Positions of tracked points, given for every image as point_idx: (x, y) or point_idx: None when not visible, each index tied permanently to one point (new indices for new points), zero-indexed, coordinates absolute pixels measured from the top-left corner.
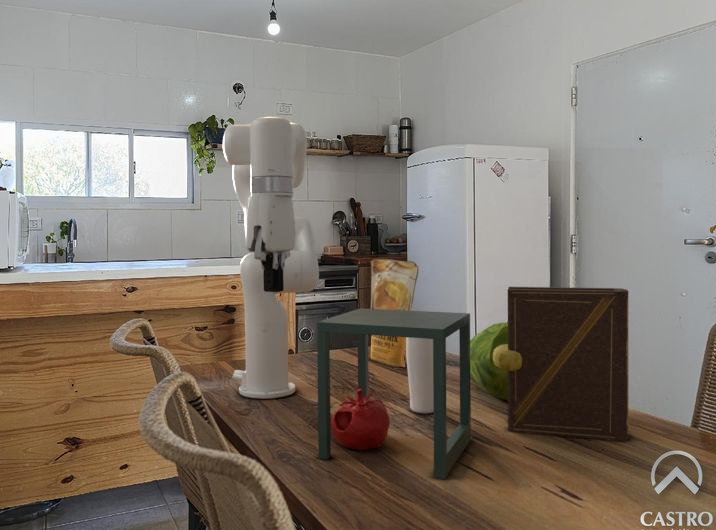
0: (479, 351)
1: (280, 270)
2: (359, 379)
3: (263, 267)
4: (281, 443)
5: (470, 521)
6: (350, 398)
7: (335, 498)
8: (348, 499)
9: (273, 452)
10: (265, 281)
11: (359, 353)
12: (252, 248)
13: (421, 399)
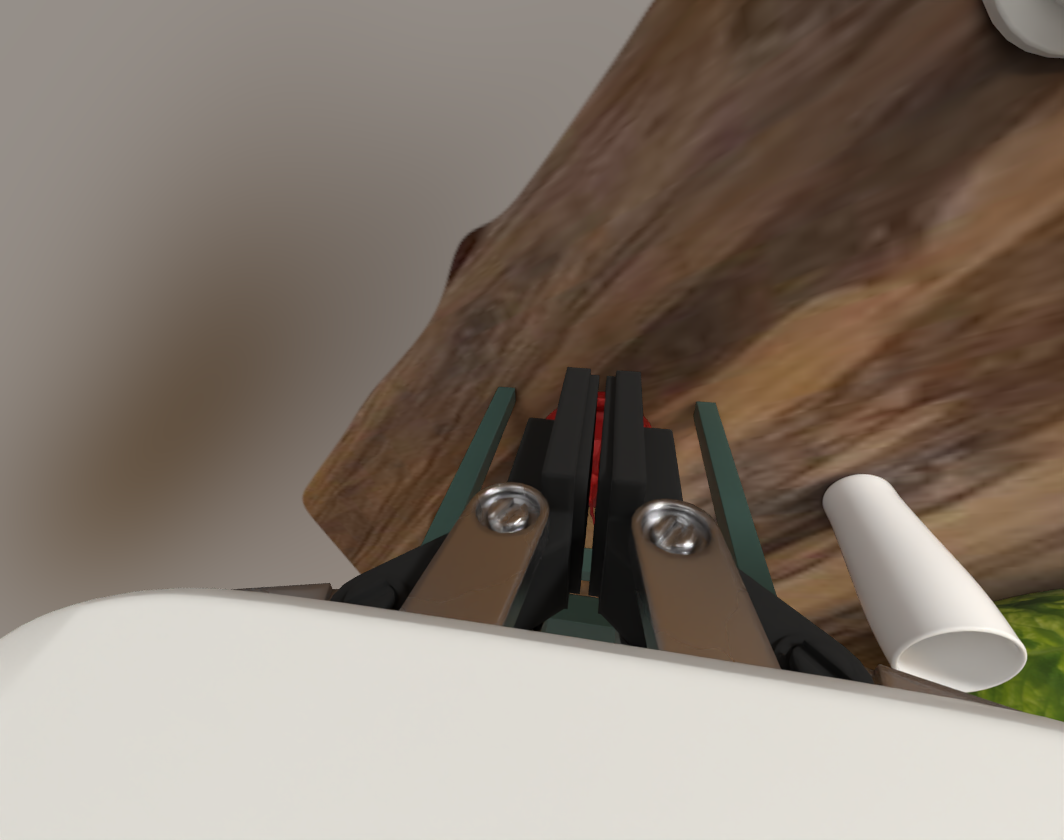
0: (1014, 696)
1: (593, 594)
2: (712, 470)
3: (478, 512)
4: (538, 287)
5: None
6: (593, 465)
7: (386, 451)
8: (393, 465)
9: (486, 296)
10: (523, 435)
11: (723, 522)
12: (228, 647)
13: (831, 518)
